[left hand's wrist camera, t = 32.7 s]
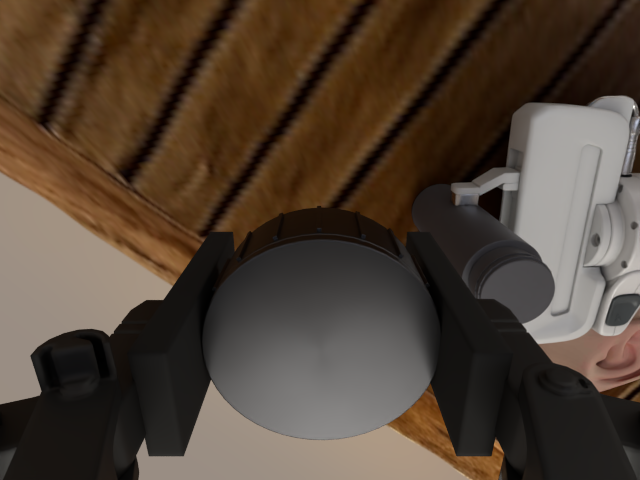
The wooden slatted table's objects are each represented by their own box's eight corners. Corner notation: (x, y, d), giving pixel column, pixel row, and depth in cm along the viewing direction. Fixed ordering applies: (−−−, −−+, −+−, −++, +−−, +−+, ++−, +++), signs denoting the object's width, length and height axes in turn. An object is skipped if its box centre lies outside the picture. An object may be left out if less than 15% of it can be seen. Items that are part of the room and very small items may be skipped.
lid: (357, 407, 14) (364, 470, 12) (188, 334, 13) (161, 388, 11) (463, 266, 12) (496, 310, 10) (275, 165, 11) (263, 189, 9)
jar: (435, 173, 39) (516, 236, 23) (476, 203, 40) (582, 283, 24) (400, 217, 40) (454, 304, 24) (441, 244, 41) (518, 346, 26)
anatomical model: (534, 401, 43) (570, 306, 39) (516, 376, 47) (548, 287, 43) (654, 412, 44) (702, 320, 40) (627, 386, 48) (669, 299, 44)
